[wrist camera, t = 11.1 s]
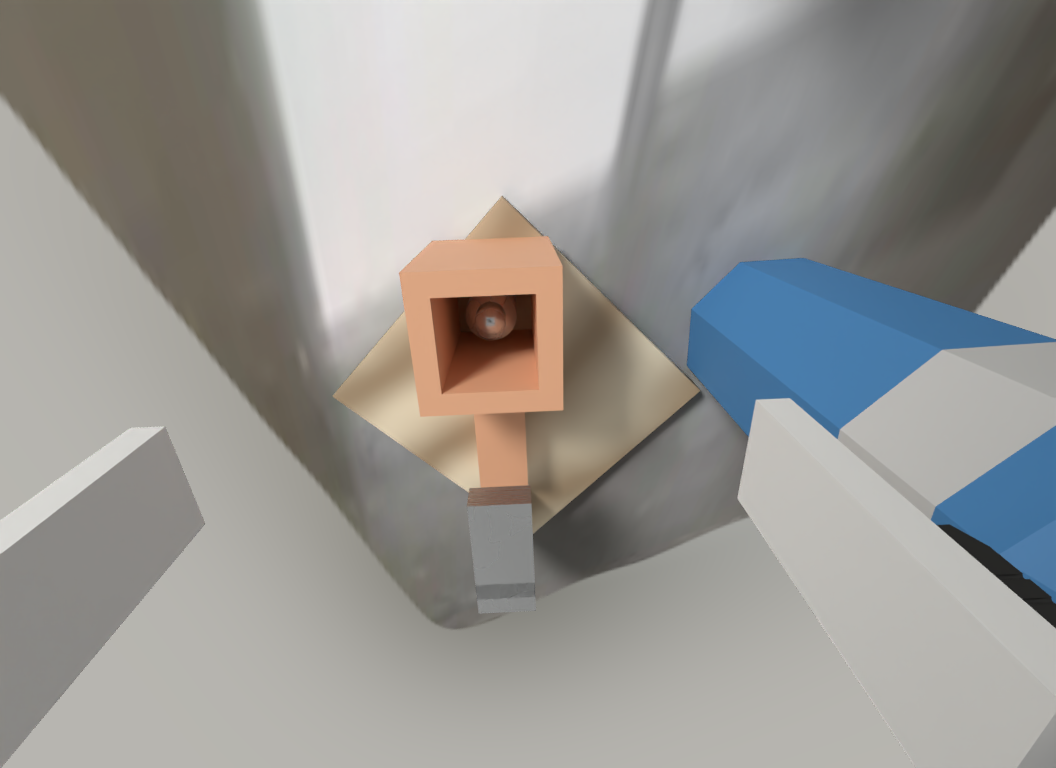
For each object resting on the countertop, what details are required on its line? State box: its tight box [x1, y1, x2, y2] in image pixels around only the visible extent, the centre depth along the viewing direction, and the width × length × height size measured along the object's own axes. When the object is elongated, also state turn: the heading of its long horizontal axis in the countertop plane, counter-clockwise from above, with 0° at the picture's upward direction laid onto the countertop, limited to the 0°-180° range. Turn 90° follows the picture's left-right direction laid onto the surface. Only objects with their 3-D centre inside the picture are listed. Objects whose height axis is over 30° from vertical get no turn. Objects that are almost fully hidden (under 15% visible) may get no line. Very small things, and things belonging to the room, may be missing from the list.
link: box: [399, 236, 563, 488], centre depth 24 cm, size 14×6×8 cm, turn 2°
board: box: [333, 196, 700, 533], centre depth 29 cm, size 16×15×1 cm
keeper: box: [467, 485, 536, 613], centre depth 28 cm, size 7×3×9 cm, turn 2°
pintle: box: [465, 295, 517, 340], centre depth 24 cm, size 2×2×5 cm
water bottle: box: [687, 258, 1056, 603], centre depth 18 cm, size 9×9×25 cm
